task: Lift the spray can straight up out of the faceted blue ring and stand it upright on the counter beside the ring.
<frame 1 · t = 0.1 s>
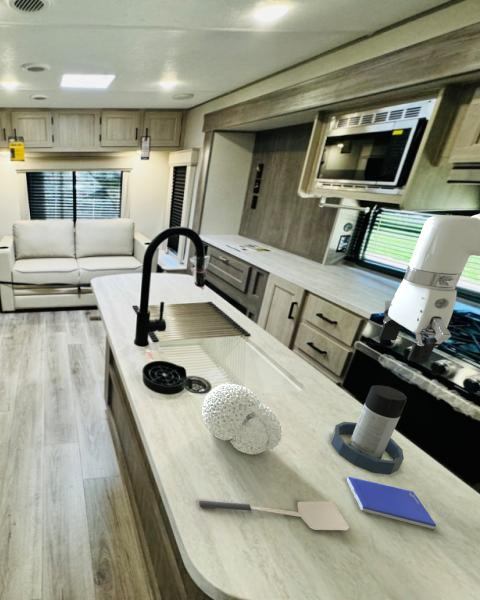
hand: (401, 349, 70), 33 cm above the counter, tool pointing down, fingers open, 9 cm apart
faceted blue ring: (362, 452, 84), on the counter
spray can: (363, 453, 84), resting in faceted blue ring
spatula: (267, 512, 70), on the counter
white textured rounded lump: (235, 435, 90), on the counter
hard drive: (386, 503, 71), on the counter
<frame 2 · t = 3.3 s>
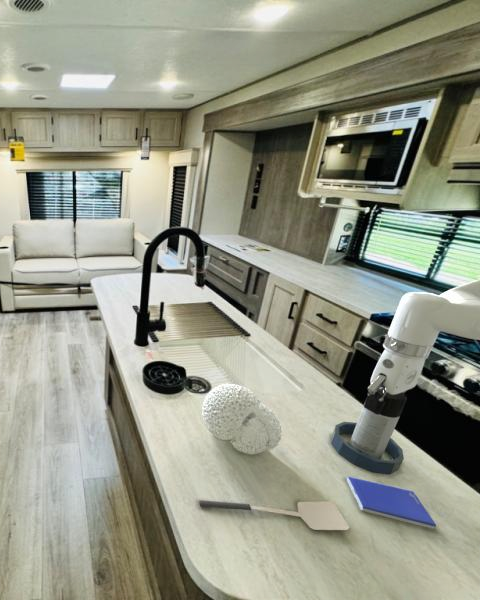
hand: (380, 406, 78), 15 cm above the counter, tool pointing down, fingers closed on spray can, 6 cm apart
spray can: (363, 453, 84), resting in faceted blue ring, touching gripper
everything else where it was.
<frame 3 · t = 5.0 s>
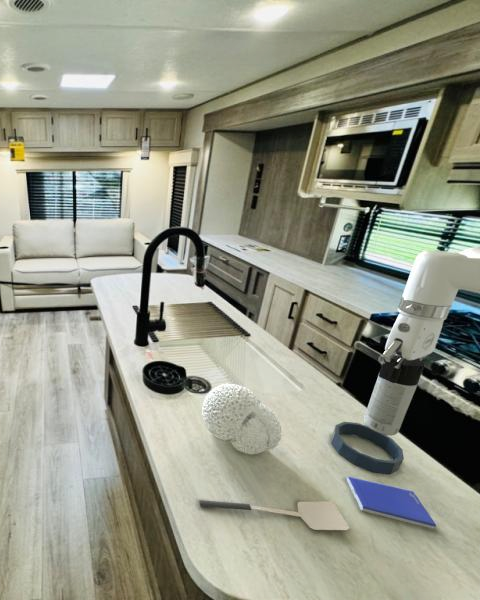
hand: (396, 375, 75), 25 cm above the counter, tool pointing down, fingers closed on spray can, 6 cm apart
spray can: (379, 427, 80), point 9 cm above the counter, touching gripper
everything else where it was.
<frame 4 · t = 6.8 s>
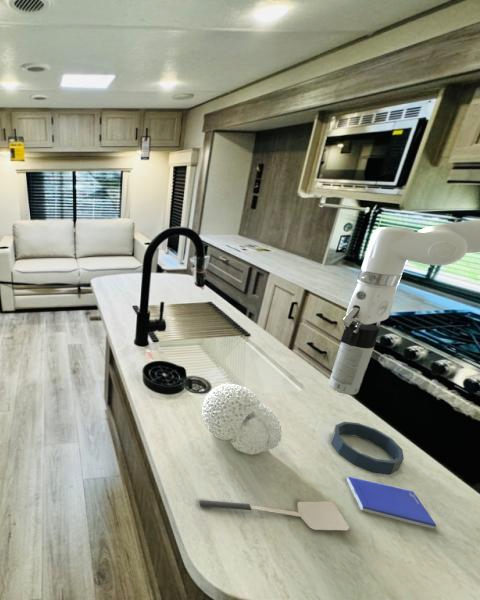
hand: (356, 340, 84), 28 cm above the counter, tool pointing down, fingers closed on spray can, 6 cm apart
spray can: (342, 388, 89), point 13 cm above the counter, touching gripper
everything else where it was.
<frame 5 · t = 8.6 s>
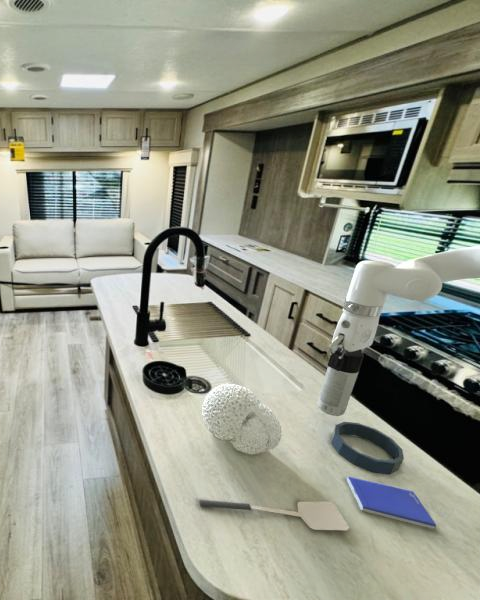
hand: (342, 365, 88), 19 cm above the counter, tool pointing down, fingers closed on spray can, 6 cm apart
spray can: (329, 409, 93), point 4 cm above the counter, touching gripper
everything else where it was.
when the fingers open (15 cm above the counter, at t = 10.2 s): spray can stays where it is, on the counter.
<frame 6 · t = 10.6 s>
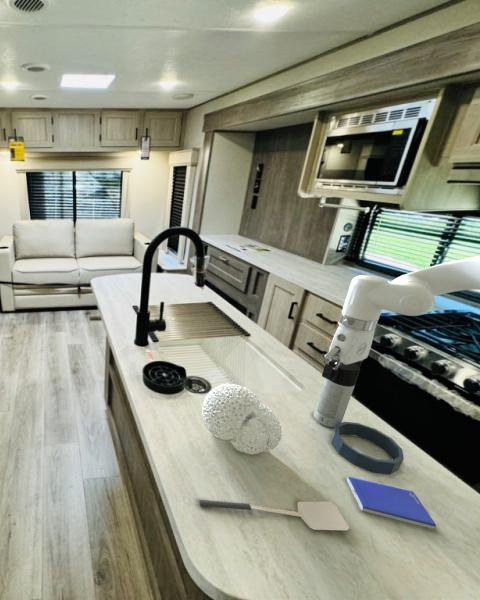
hand: (339, 375, 89), 16 cm above the counter, tool pointing down, fingers open, 9 cm apart
spray can: (326, 420, 95), on the counter
everything else where it was.
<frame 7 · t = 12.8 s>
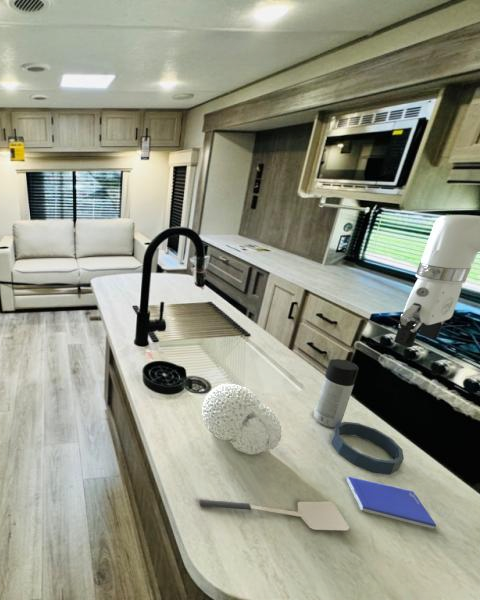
hand: (415, 340, 75), 32 cm above the counter, tool pointing down, fingers open, 9 cm apart
nothing on the counter moved.
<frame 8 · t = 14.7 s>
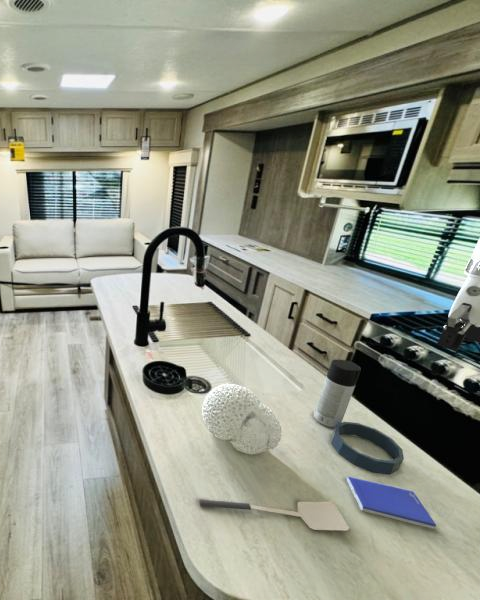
hand: (459, 343, 70), 34 cm above the counter, tool pointing down, fingers open, 9 cm apart
nothing on the counter moved.
at the end: spray can inside the target area (0.5 cm from its centre), on the counter; spray can tilted 1°; spray can touching counter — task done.
